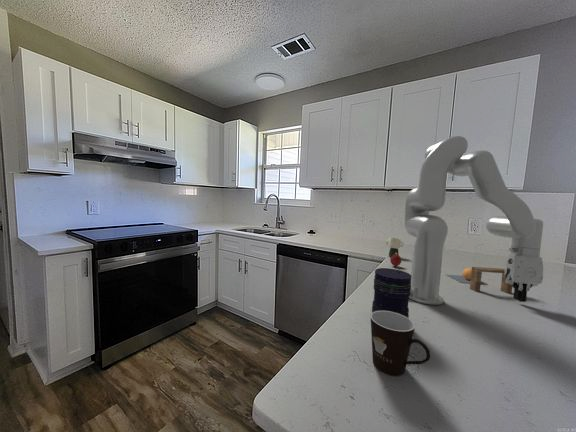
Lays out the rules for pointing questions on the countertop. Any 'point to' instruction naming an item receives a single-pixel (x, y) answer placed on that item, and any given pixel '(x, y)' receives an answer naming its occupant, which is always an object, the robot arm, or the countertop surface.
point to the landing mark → (461, 279)
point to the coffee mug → (393, 342)
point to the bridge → (476, 278)
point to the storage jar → (391, 291)
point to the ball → (467, 273)
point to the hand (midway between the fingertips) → (519, 300)
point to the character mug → (394, 245)
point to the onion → (395, 260)
